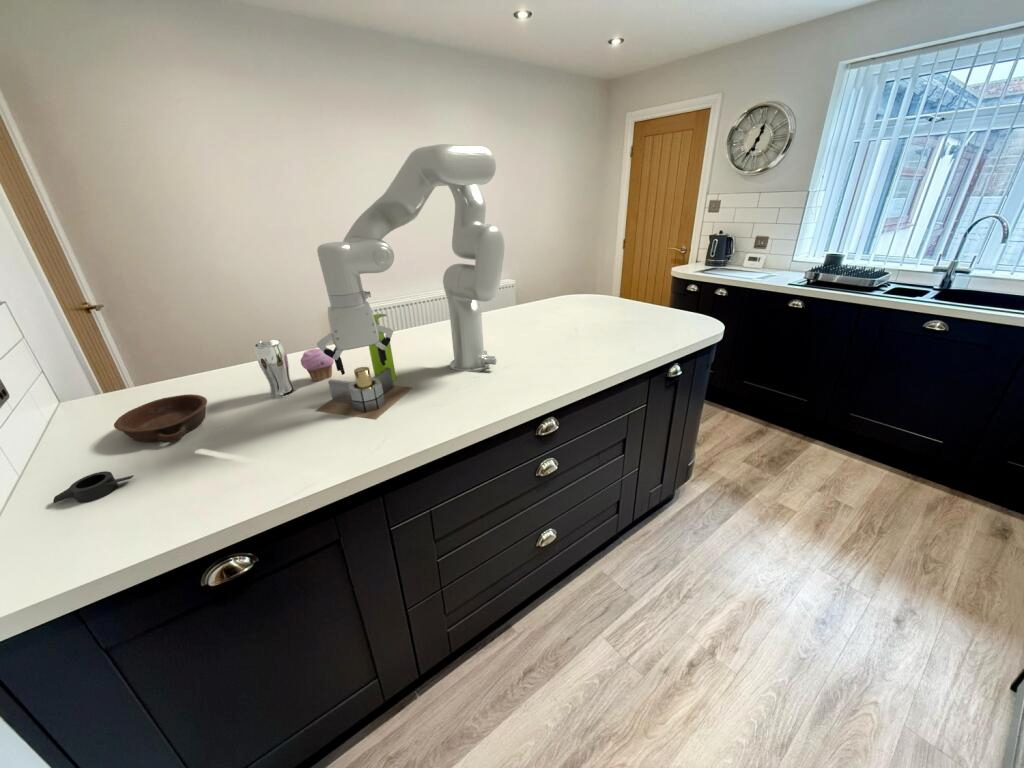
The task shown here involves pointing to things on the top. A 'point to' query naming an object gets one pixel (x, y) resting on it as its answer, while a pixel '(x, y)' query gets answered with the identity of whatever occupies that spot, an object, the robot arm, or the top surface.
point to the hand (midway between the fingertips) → (363, 368)
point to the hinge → (363, 392)
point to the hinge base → (348, 410)
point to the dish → (163, 418)
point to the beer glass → (275, 366)
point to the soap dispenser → (375, 356)
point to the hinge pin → (363, 377)
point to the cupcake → (317, 364)
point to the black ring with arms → (91, 487)
